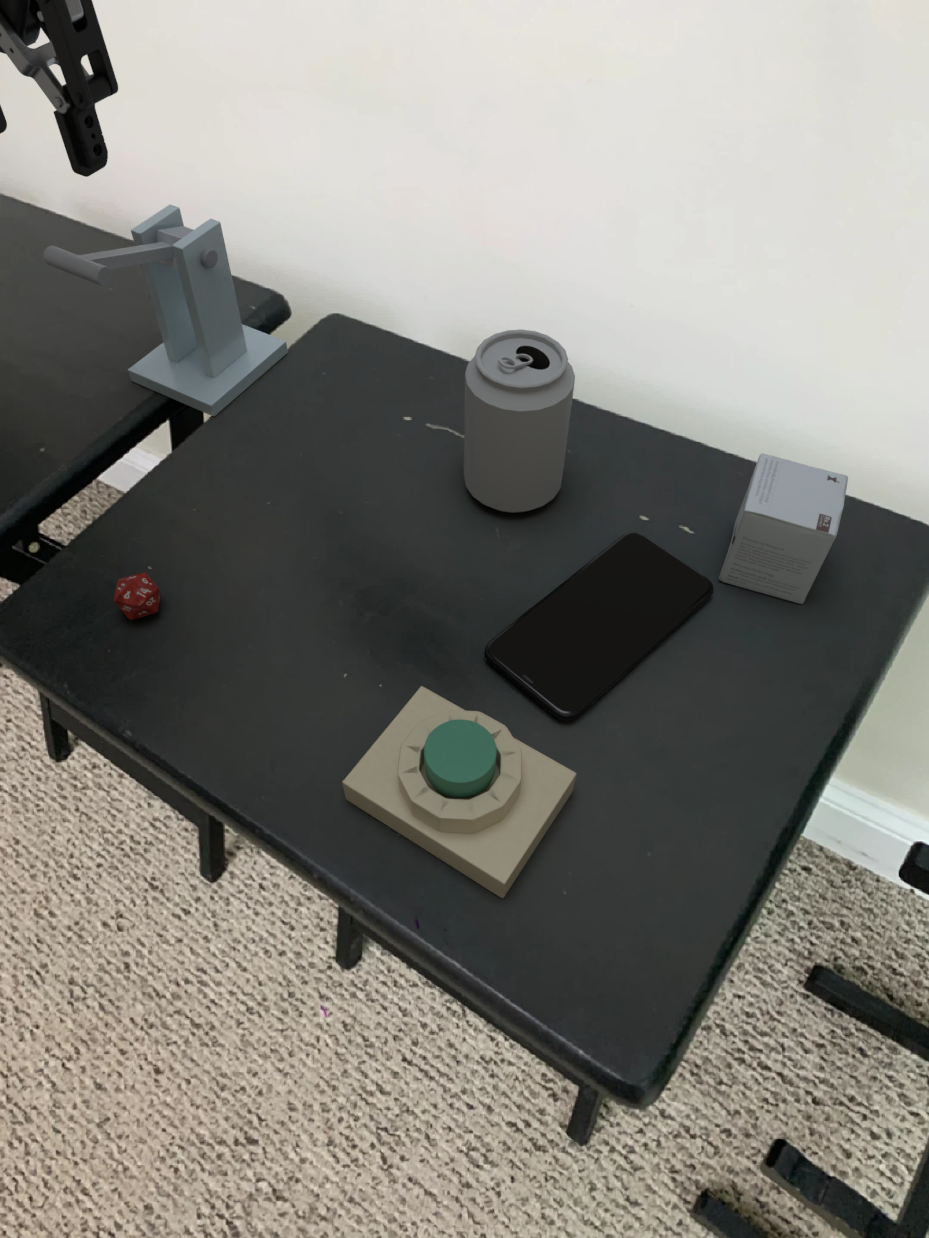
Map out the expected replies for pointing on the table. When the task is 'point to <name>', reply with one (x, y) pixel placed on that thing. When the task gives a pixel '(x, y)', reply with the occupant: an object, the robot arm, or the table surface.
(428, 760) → the flush button
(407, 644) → the table surface
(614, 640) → the smartphone
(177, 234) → the flush lever
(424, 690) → the green push button box
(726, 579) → the white cardboard box
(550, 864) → the table surface
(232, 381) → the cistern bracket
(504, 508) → the can
